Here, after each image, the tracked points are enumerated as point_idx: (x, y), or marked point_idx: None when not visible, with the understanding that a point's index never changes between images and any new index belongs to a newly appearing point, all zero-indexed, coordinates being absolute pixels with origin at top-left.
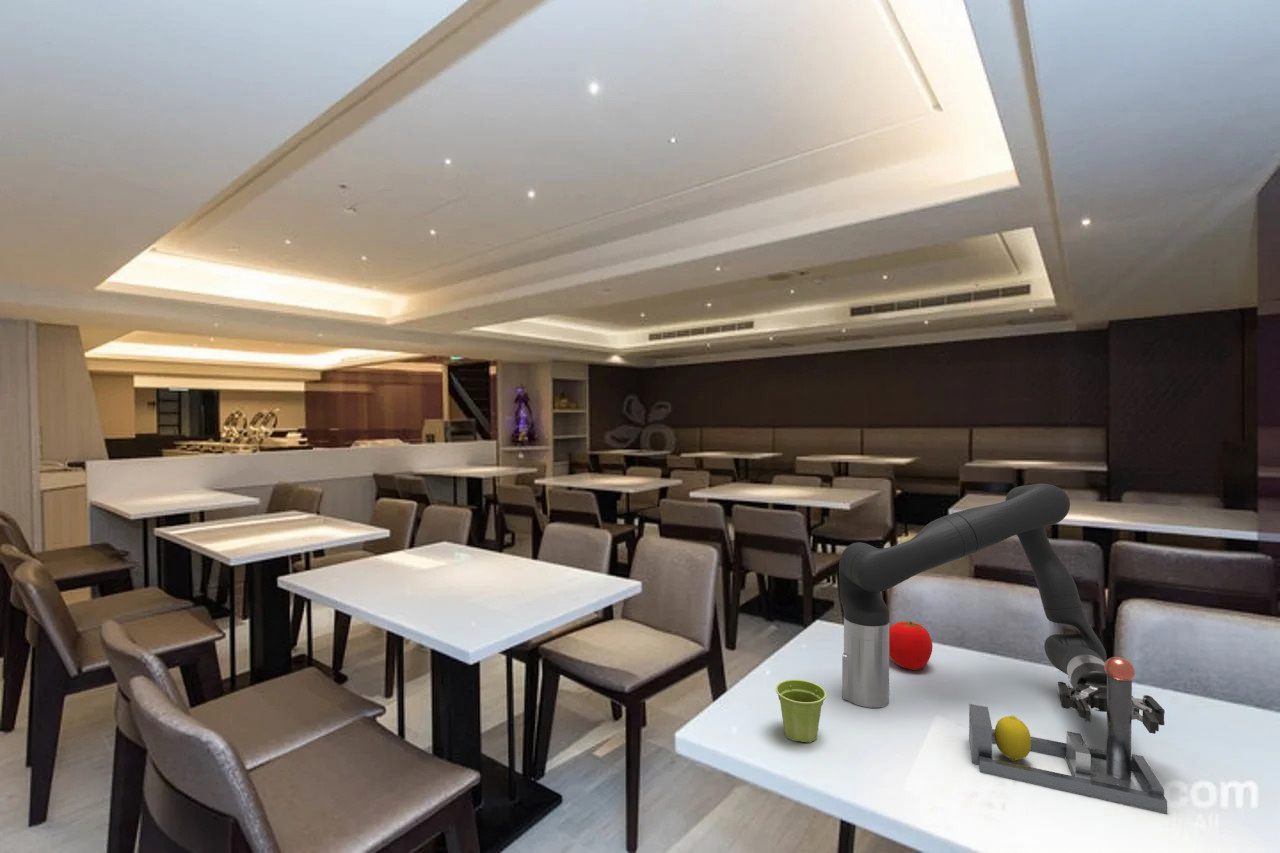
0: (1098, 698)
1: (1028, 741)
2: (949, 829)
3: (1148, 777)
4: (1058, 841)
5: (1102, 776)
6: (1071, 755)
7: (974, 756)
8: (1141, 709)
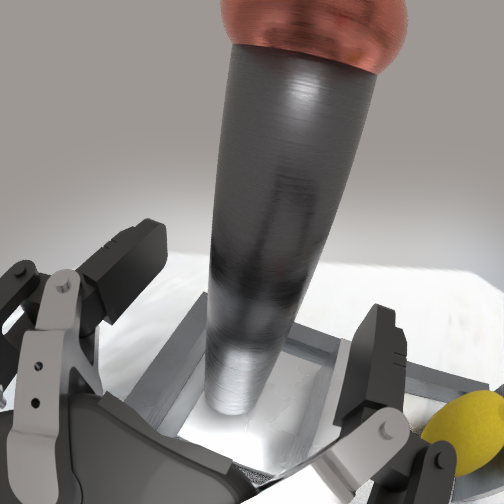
0: (231, 464)
1: (449, 406)
2: (481, 284)
3: (198, 329)
4: (401, 268)
5: (283, 379)
6: None
7: None
8: (81, 301)
